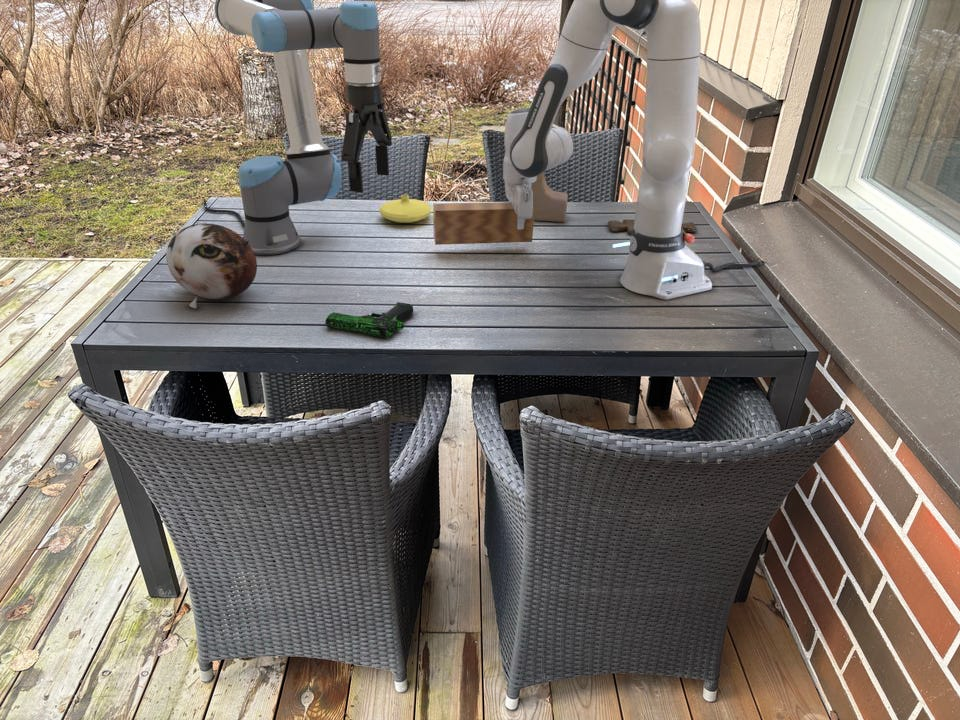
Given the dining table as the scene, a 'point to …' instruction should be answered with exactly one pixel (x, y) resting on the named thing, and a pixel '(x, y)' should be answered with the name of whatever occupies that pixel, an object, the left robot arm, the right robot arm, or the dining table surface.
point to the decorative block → (548, 201)
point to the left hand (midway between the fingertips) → (370, 182)
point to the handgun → (373, 321)
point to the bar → (478, 223)
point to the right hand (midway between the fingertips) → (517, 223)
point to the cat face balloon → (211, 261)
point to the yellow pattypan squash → (405, 210)
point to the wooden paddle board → (628, 225)
